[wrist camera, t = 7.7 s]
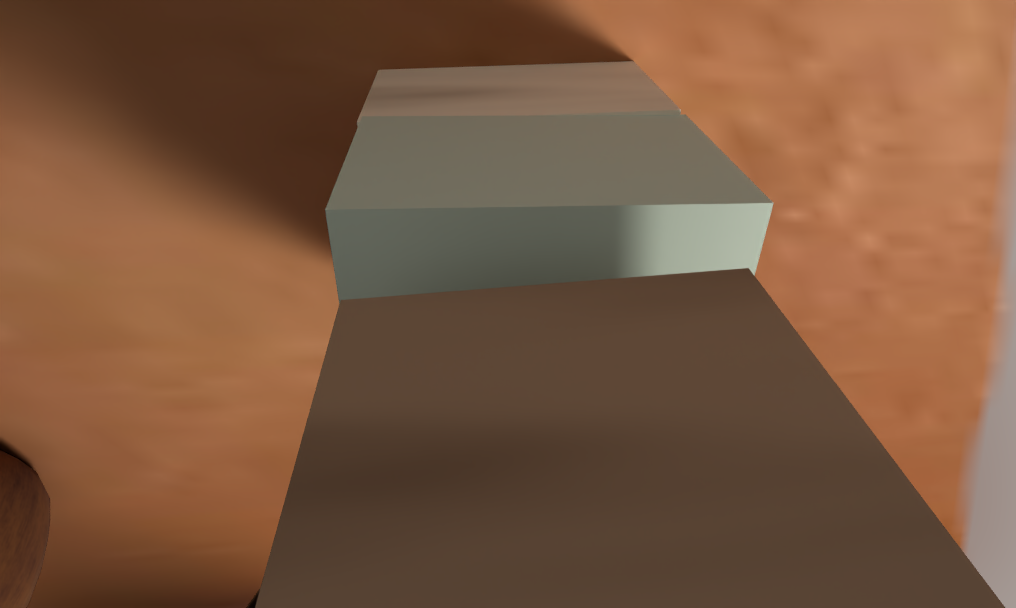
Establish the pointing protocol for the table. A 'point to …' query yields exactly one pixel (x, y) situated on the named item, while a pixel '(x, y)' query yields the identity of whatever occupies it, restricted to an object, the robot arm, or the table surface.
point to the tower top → (535, 203)
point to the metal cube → (597, 461)
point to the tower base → (518, 91)
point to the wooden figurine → (21, 531)
